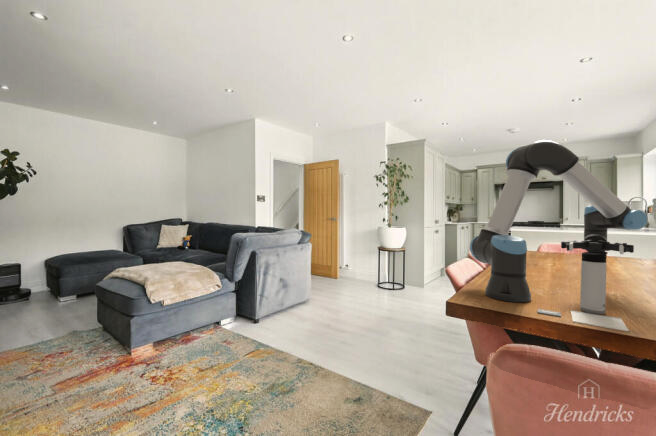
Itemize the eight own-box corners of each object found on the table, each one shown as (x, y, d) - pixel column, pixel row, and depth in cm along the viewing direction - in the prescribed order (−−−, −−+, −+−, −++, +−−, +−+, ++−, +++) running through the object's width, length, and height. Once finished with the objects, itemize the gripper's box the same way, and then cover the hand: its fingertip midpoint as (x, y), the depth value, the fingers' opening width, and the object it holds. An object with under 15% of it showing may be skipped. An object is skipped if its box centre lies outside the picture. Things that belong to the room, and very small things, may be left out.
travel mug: (611, 315, 96) (613, 252, 96) (587, 313, 98) (589, 252, 97) (598, 309, 102) (599, 250, 102) (575, 307, 104) (577, 249, 103)
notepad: (572, 321, 90) (572, 320, 90) (570, 311, 100) (570, 310, 100) (628, 331, 83) (628, 330, 83) (620, 319, 92) (620, 318, 92)
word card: (537, 313, 98) (537, 311, 98) (537, 310, 101) (537, 308, 101) (560, 317, 94) (560, 315, 94) (560, 313, 97) (560, 312, 97)
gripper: (638, 255, 115) (646, 263, 99) (556, 250, 131) (551, 256, 115) (639, 236, 114) (646, 240, 99) (557, 233, 131) (551, 236, 115)
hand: (595, 248), depth 107 cm, fingers open, 13 cm apart
